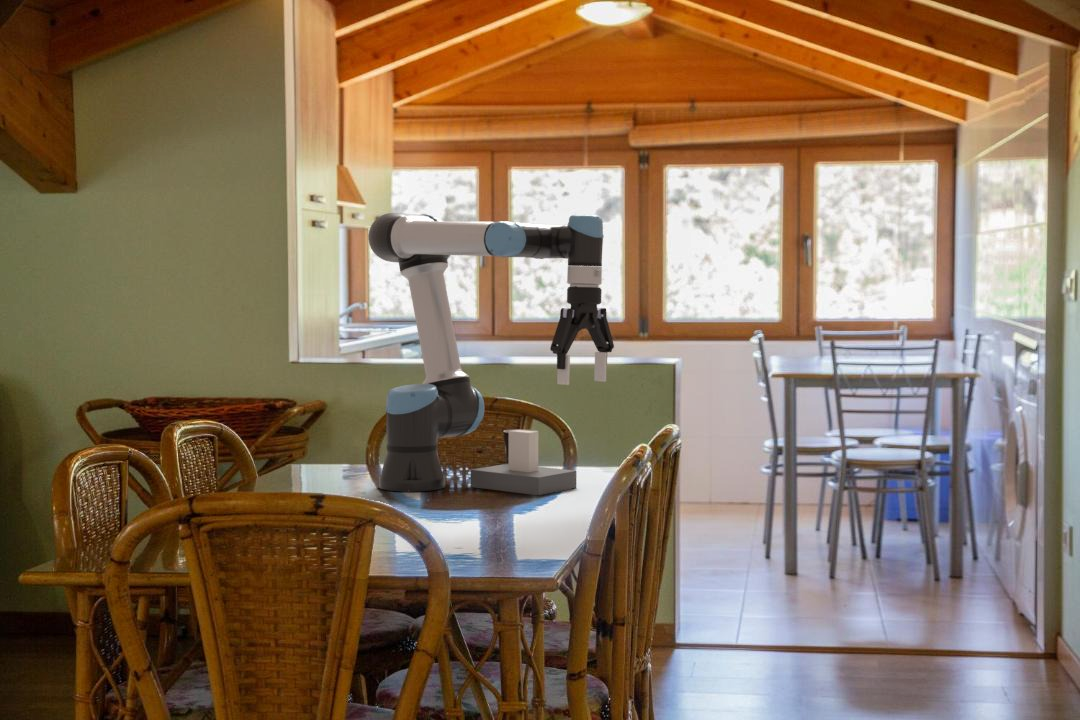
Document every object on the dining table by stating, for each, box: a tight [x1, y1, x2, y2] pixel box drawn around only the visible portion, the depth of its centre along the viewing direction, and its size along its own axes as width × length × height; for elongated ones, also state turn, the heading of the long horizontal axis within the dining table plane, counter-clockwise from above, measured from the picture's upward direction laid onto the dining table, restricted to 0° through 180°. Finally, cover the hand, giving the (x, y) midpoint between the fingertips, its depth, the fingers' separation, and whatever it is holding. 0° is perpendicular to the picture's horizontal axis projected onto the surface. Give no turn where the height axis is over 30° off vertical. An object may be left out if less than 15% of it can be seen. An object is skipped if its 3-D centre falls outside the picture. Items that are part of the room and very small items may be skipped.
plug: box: [509, 429, 539, 472], centre depth 299 cm, size 6×4×13 cm, turn 52°
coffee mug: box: [502, 429, 536, 464], centre depth 326 cm, size 12×9×10 cm
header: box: [470, 463, 577, 496], centre depth 299 cm, size 20×14×4 cm
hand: (582, 383), depth 286 cm, fingers open, 13 cm apart
